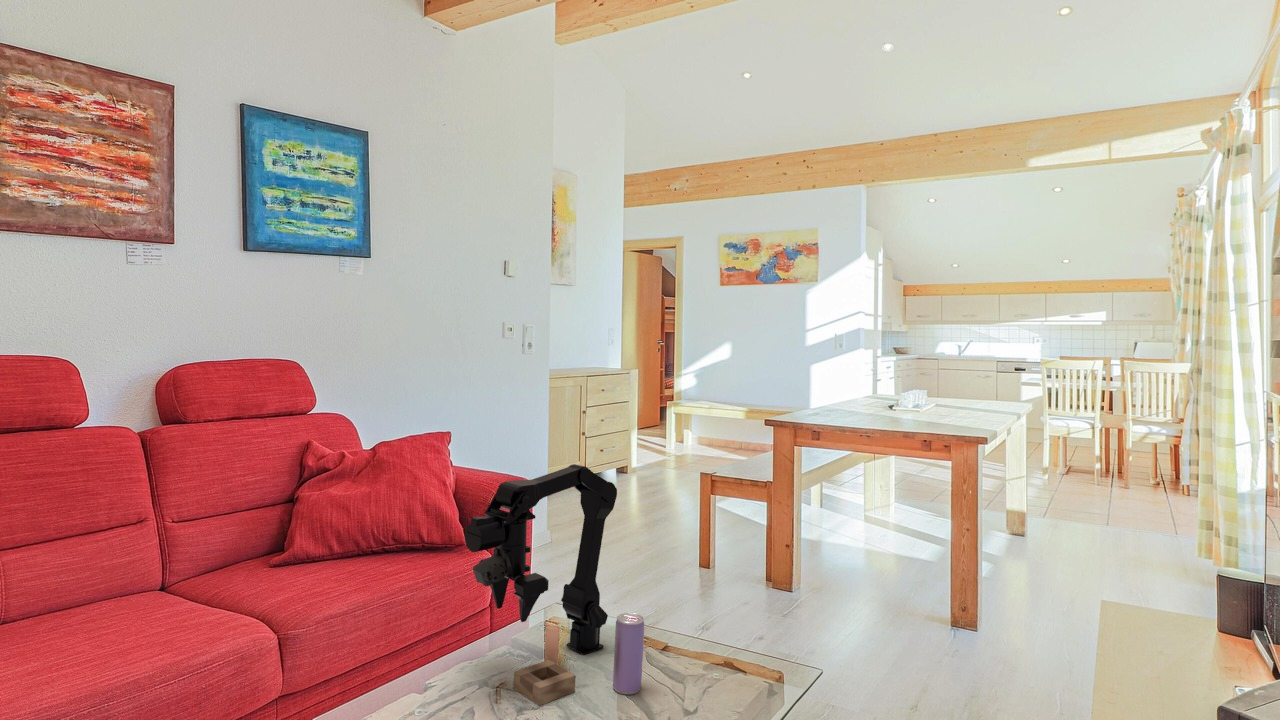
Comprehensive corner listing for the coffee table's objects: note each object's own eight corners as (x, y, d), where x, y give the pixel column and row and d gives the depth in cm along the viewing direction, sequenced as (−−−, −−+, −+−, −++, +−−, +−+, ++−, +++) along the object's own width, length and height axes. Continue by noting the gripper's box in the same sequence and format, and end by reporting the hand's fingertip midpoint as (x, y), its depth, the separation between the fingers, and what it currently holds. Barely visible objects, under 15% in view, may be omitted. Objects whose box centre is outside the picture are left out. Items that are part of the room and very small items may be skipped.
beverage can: (637, 697, 148) (641, 624, 147) (609, 693, 149) (613, 621, 149) (643, 684, 154) (647, 614, 153) (616, 680, 155) (619, 610, 154)
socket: (548, 676, 155) (549, 659, 155) (574, 692, 149) (575, 675, 149) (513, 688, 149) (513, 671, 149) (539, 705, 142) (539, 688, 142)
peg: (552, 664, 161) (554, 624, 161) (560, 669, 159) (562, 628, 158) (541, 668, 159) (543, 627, 158) (549, 673, 156) (551, 631, 156)
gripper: (456, 538, 154) (454, 610, 155) (504, 561, 141) (502, 639, 141) (501, 529, 162) (499, 598, 163) (550, 550, 148) (548, 625, 149)
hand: (511, 614), depth 154 cm, fingers open, 9 cm apart
